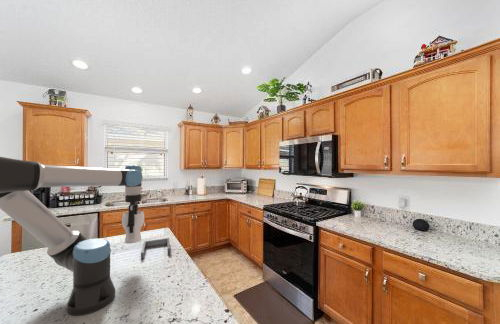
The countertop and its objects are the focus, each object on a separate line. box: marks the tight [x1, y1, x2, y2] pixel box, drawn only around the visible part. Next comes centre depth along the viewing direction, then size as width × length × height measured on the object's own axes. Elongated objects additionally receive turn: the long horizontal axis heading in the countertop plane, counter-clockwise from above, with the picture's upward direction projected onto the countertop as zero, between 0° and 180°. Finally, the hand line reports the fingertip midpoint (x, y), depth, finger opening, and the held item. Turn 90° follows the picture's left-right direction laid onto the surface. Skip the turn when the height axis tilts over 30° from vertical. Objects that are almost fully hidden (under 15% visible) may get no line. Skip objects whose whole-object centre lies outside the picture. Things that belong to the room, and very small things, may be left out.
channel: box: [140, 237, 171, 261], centre depth 129 cm, size 19×15×4 cm
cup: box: [121, 210, 145, 245], centre depth 110 cm, size 11×11×15 cm
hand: (133, 235), depth 110 cm, fingers closed on cup, 11 cm apart
